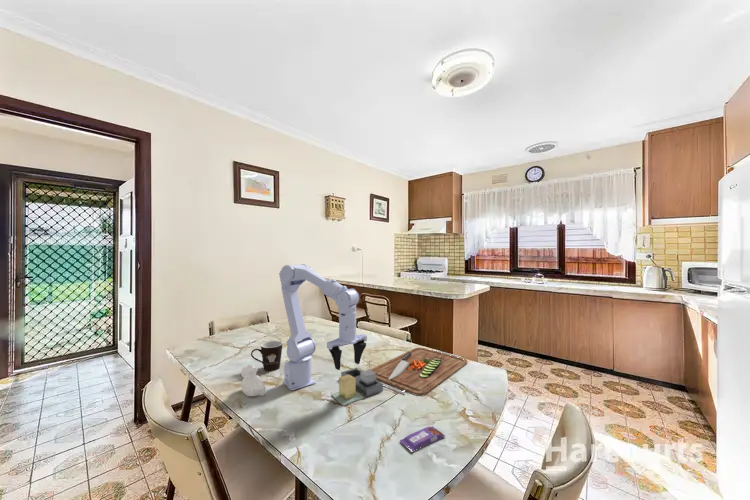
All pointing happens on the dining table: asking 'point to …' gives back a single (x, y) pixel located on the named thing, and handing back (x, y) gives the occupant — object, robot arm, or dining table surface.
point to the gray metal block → (367, 378)
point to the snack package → (422, 438)
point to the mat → (348, 401)
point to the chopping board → (418, 370)
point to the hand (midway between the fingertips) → (347, 366)
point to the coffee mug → (270, 355)
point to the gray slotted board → (361, 388)
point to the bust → (252, 382)
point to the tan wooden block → (347, 387)
